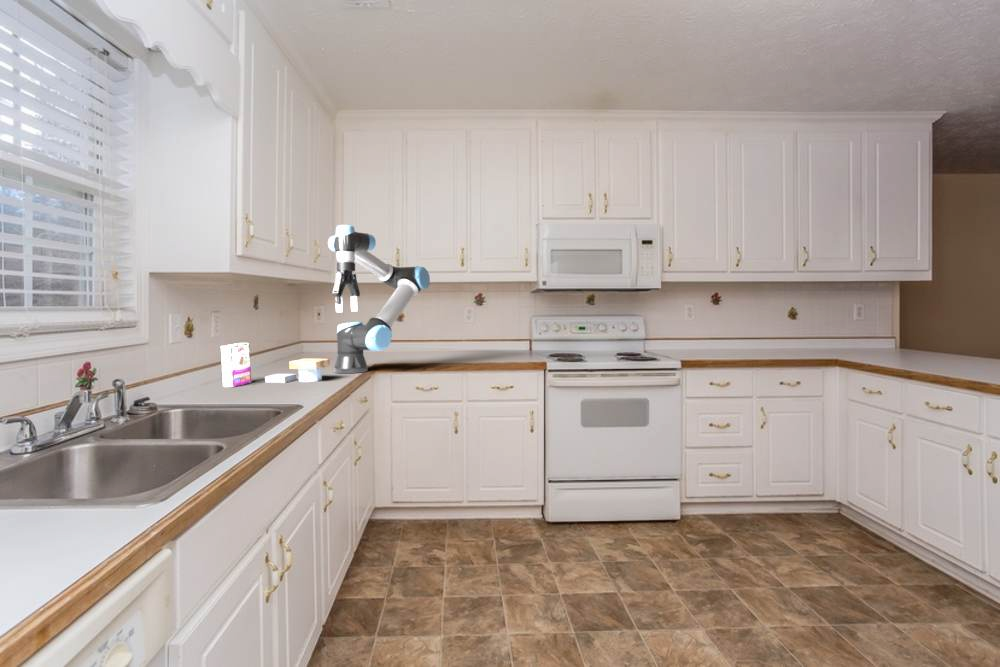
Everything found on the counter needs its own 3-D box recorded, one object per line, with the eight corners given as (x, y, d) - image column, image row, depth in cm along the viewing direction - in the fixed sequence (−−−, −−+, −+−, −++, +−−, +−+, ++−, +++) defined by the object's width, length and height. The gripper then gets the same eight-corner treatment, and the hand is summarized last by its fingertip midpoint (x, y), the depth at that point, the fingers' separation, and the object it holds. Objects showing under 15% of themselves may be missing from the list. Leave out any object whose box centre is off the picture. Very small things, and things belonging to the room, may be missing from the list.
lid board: (304, 365, 218) (304, 358, 218) (329, 365, 216) (329, 358, 216) (289, 368, 207) (289, 361, 207) (316, 369, 205) (315, 362, 205)
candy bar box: (240, 382, 207) (239, 342, 206) (251, 382, 206) (250, 343, 205) (221, 387, 196) (219, 345, 195) (233, 387, 195) (231, 345, 194)
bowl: (306, 378, 217) (306, 365, 216) (324, 378, 215) (324, 366, 215) (295, 381, 208) (294, 368, 208) (314, 382, 207) (313, 368, 207)
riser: (277, 379, 215) (276, 373, 214) (296, 379, 213) (296, 374, 213) (265, 382, 207) (264, 376, 207) (285, 382, 205) (284, 376, 205)
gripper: (351, 264, 228) (352, 310, 229) (322, 259, 204) (324, 312, 205) (366, 263, 227) (367, 310, 228) (339, 259, 202) (341, 312, 204)
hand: (347, 311), depth 217 cm, fingers open, 13 cm apart
